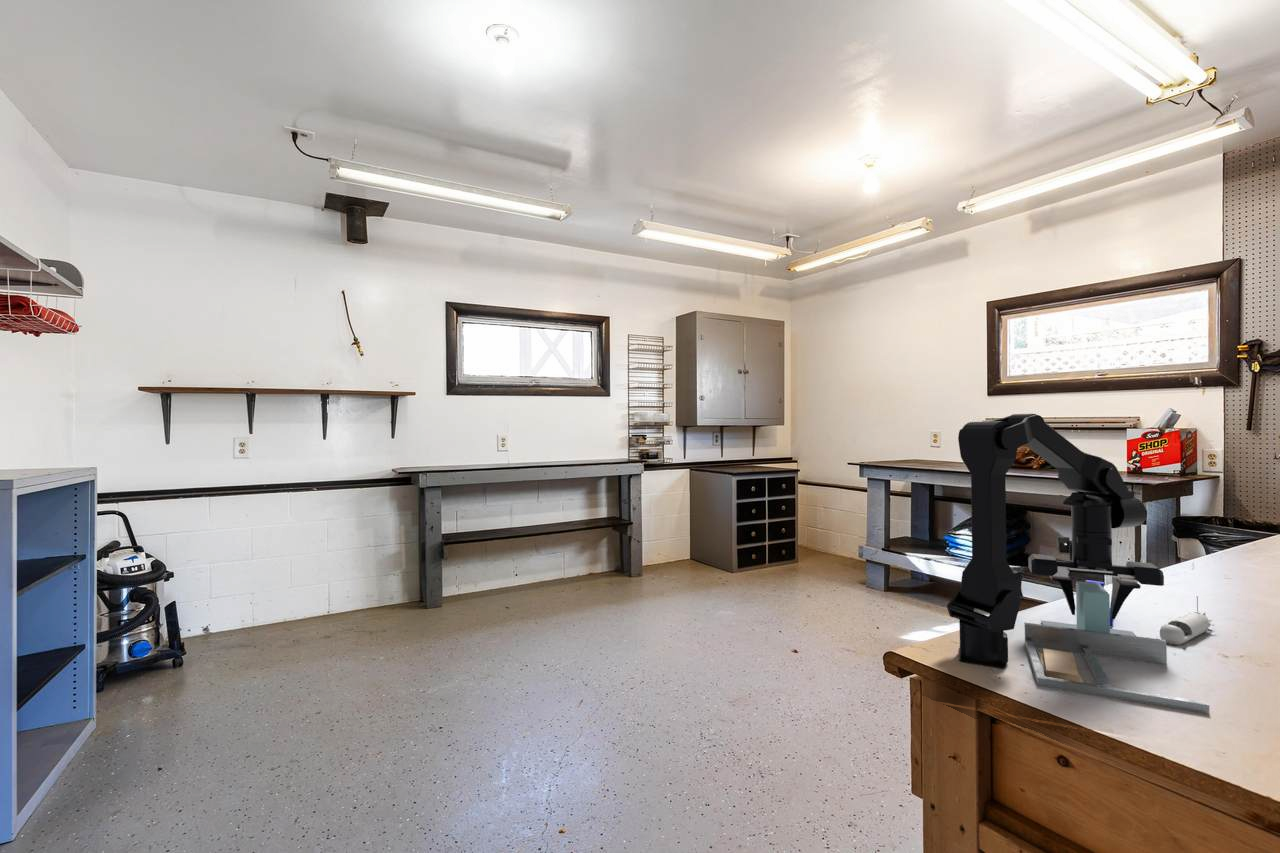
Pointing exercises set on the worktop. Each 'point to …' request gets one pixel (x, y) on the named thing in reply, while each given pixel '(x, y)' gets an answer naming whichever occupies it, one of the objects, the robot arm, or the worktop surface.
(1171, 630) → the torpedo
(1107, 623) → the pale teal block
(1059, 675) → the upper offcut
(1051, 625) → the rubber mat
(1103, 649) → the rack
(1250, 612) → the worktop surface
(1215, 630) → the worktop surface
